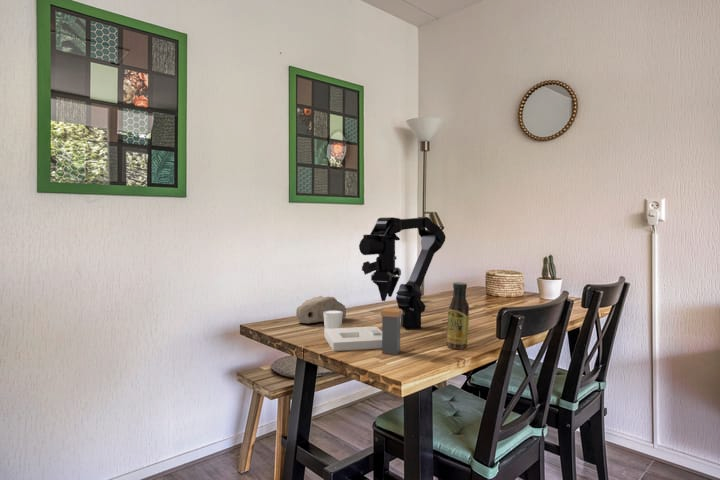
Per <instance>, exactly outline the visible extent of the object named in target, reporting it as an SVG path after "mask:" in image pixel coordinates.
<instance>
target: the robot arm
mask: <svg viewBox="0 0 720 480" xmlns="http://www.w3.org/2000/svg"><path fill="white" fill-rule="evenodd" d="M411 229H412V230H413V229H417V231H418V236H420V238H421V240H420V245H421V250H420V252H419V254H418V257H417V258H416V259H417V260H416V262H415V265H414V267H413V269H412V272H411V274H410V277H409V279H408V281H407V282H406V283H401V284H399V288H398V290H397V292H396V293H395V294H396V298H395V300H396V303H397V304H396V305H397V307H398V309H402V314H401V315H400V327H402V328H403V329H404V330H422V329H423V326H422V313H425V312H426V311H425V310H426V307H427V306H426V305H425V303H424V302H423V301H422V289H421V287H422V285H423V282H424V280H425V277H426V275H427V272H428V269H429V267H430V266H431V263H432V260H433V257H434V255H435V254H436V253H437V252H438V251H439V250H440V249H442V247H443V245H444V243H445V241H446V234H445V232H444V231H443V229H441V227H440V226H439V225H437V224H436V223H434V222H433V221H432V220H431V218H430V217H427V216H418V217H411V218H399V217H387V216H386V217H379V218H377V220H376V223H375V224H374V226H373V228H372V230H371V232H370V233H369V234H363V238H362V239H361V240H360V241H359V245H358V249H359V251H360V253H361V254H362V255H363V256H372V255H378V256H377V257H376V259H375V260H376V261H373V262H370V261H368V260H367V261H365V262H363V263H362V265H361V271H362V272H363V274H364V275H365V276H366V275H368V274H371V273H372V274H371V275H370V278H371V279H370V280H371V282H372V283H374V284H375V285H376V286H377V288H378V292H379V295H380V299H381V302H386V300H387V296H388V298H391V297H393V294H394V291H395V289H396V287H397V284H398V282H399V279H401V276H402V270H401V269H400V267H396V260H397V256H396V241H400V239H401V238H400V237H399V236H398V235H397V234H398V233H400V232H402V231H403V230H411Z"/></svg>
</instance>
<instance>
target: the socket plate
mask: <svg viewBox="0 0 720 480" xmlns="http://www.w3.org/2000/svg"><path fill="white" fill-rule="evenodd" d="M323 332H324V335H323V337H324V338H325V340H326V341H327V343H328V345H329V346H330V348H331V350H332V351H333V352H339V351H340V352H341V351H358V350H370V349H371V350H372V349H382V329H379V327H377V326H357V327H341V328H333V329H325V328H324V331H323Z"/></svg>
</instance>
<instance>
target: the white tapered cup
mask: <svg viewBox="0 0 720 480" xmlns="http://www.w3.org/2000/svg"><path fill="white" fill-rule="evenodd" d="M323 314H324V322H323V323H324V329H333V328H343V327H342V325H343V324H342V323H343V319H342V316H343V312H342V311H337V310H330V311H325V312H323Z"/></svg>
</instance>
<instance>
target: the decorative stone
mask: <svg viewBox="0 0 720 480" xmlns="http://www.w3.org/2000/svg"><path fill="white" fill-rule="evenodd" d="M330 310H337V311H342V312H343V316H342V320H344V319H345V318H346V317H347V308H346V306H345V304H343V303H342V302H340V301H338V300H337V299H336V297H334V296H323V295H319V296H315V297H314V296H313V297H312V298H310V299H307V300H305V301H304V302H302V303H301V305H299V306H298V307H297V308H296V313H295V314H296V321H297V323H302V324H315V323H324V314H323V312H325V311H330Z"/></svg>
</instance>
